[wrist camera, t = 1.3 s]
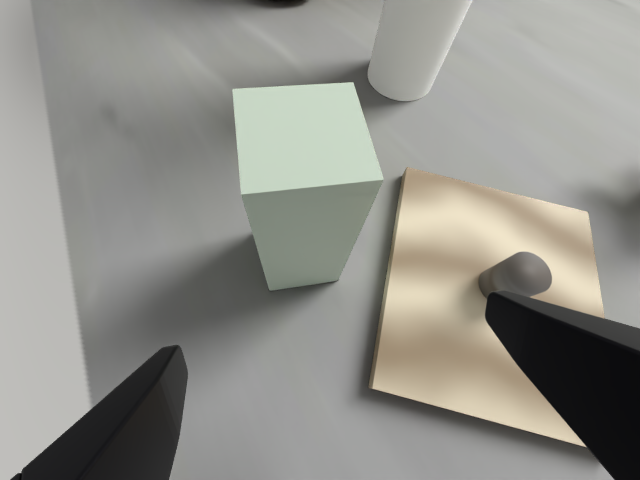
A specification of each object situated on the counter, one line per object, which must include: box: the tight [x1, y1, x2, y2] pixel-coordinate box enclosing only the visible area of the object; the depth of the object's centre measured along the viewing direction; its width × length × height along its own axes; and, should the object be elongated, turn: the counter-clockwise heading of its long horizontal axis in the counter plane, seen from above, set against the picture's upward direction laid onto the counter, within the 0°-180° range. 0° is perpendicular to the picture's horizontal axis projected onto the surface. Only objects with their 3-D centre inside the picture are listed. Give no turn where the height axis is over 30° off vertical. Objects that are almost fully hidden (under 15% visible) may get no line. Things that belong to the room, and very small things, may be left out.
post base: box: [368, 167, 605, 447], centre depth 21 cm, size 18×16×5 cm
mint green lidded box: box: [232, 82, 384, 291], centre depth 18 cm, size 5×5×13 cm
